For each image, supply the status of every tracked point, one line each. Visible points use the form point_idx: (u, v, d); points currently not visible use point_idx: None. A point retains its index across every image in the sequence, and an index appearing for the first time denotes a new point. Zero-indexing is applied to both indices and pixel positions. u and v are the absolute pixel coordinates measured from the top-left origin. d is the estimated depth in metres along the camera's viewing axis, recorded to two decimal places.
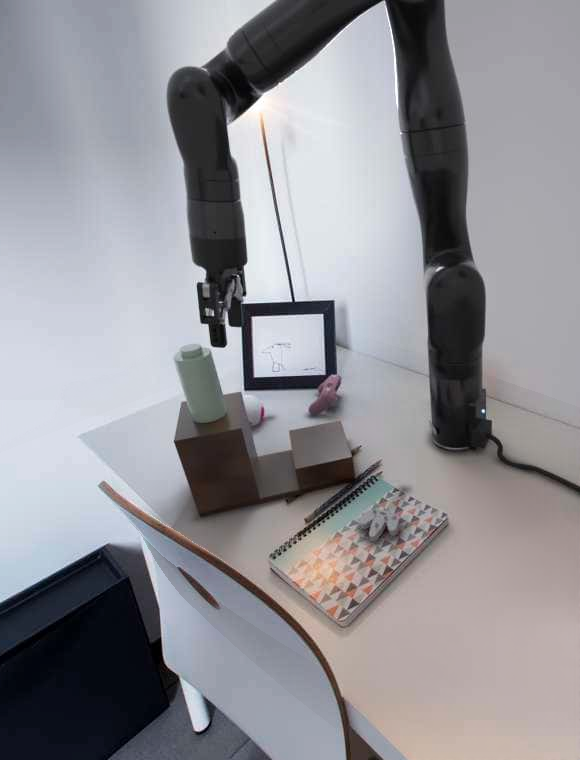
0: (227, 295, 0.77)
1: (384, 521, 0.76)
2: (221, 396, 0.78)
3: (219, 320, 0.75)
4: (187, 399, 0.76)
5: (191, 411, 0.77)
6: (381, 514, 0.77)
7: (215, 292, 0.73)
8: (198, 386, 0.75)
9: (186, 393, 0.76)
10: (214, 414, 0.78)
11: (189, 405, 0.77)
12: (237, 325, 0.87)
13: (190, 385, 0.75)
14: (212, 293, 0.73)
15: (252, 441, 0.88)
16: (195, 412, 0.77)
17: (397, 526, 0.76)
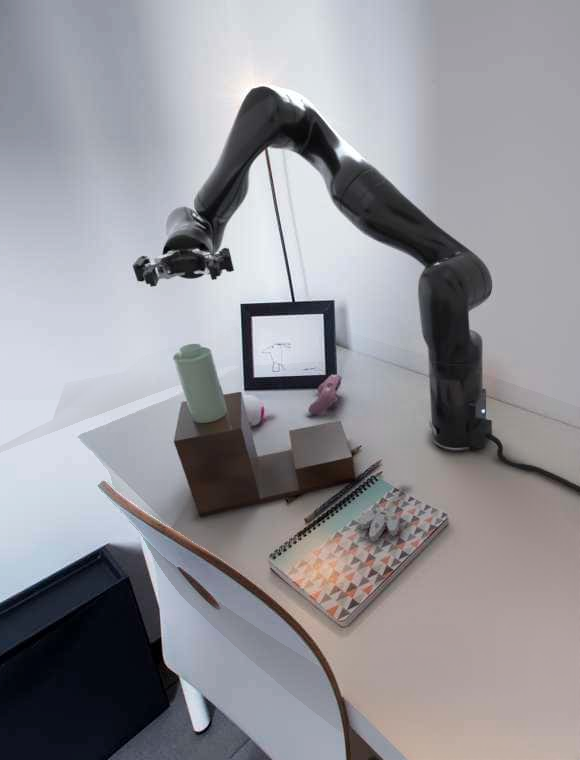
0: None
1: (384, 521, 0.76)
2: (221, 396, 0.78)
3: (136, 264, 0.81)
4: (187, 399, 0.76)
5: (191, 411, 0.77)
6: (381, 514, 0.77)
7: (139, 258, 0.85)
8: (198, 386, 0.75)
9: (186, 393, 0.76)
10: (214, 414, 0.78)
11: (189, 405, 0.77)
12: (209, 271, 0.81)
13: (190, 385, 0.75)
14: None
15: (252, 441, 0.88)
16: (195, 412, 0.77)
17: (397, 526, 0.76)
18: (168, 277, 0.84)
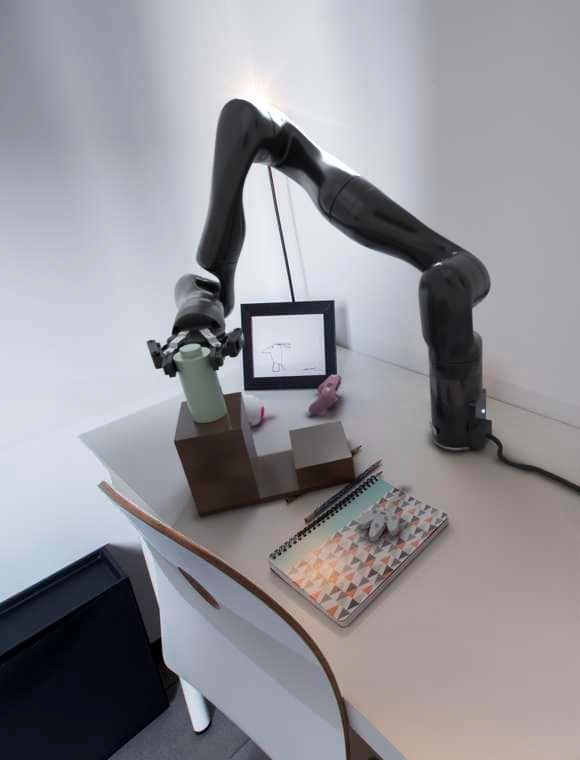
0: None
1: (384, 521, 0.76)
2: (221, 396, 0.78)
3: (153, 351, 0.75)
4: (187, 399, 0.76)
5: (191, 411, 0.77)
6: (381, 514, 0.77)
7: (148, 343, 0.78)
8: (198, 386, 0.75)
9: (186, 393, 0.76)
10: (214, 414, 0.78)
11: (189, 405, 0.77)
12: (211, 362, 0.74)
13: (190, 385, 0.75)
14: None
15: (252, 441, 0.88)
16: (195, 412, 0.77)
17: (397, 526, 0.76)
18: None
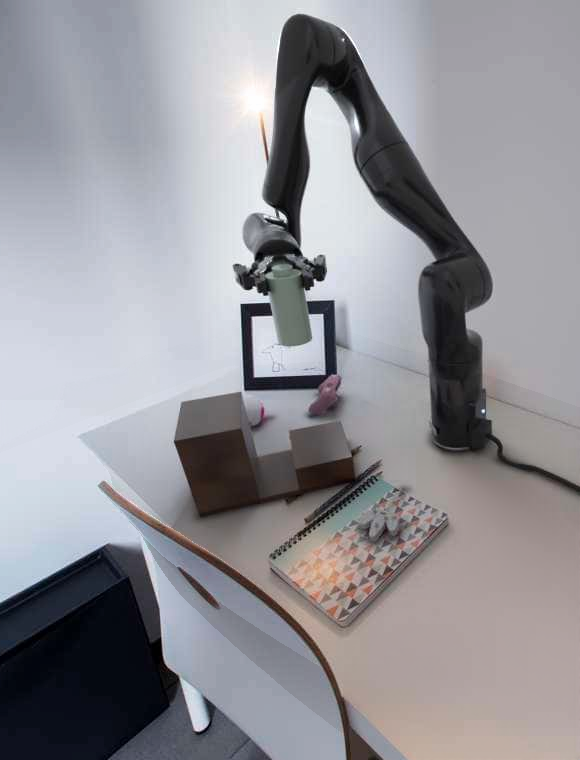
0: None
1: (384, 521, 0.76)
2: (308, 320, 0.77)
3: None
4: (276, 321, 0.75)
5: (279, 334, 0.76)
6: (381, 514, 0.77)
7: (235, 266, 0.77)
8: (289, 307, 0.74)
9: (276, 314, 0.75)
10: (302, 338, 0.77)
11: (278, 327, 0.76)
12: (303, 281, 0.73)
13: (282, 305, 0.74)
14: (234, 269, 0.77)
15: (252, 441, 0.88)
16: (284, 335, 0.76)
17: (397, 526, 0.76)
18: None
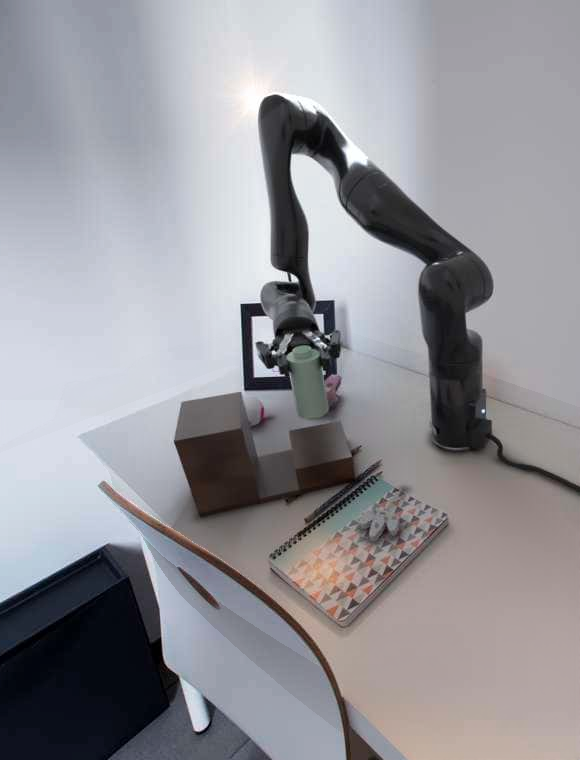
0: (282, 341, 0.84)
1: (384, 521, 0.76)
2: (325, 394, 0.84)
3: (266, 352, 0.81)
4: (296, 397, 0.82)
5: (299, 408, 0.83)
6: (381, 514, 0.77)
7: (257, 344, 0.84)
8: (308, 385, 0.80)
9: (296, 391, 0.81)
10: (319, 411, 0.83)
11: (297, 402, 0.82)
12: (322, 362, 0.80)
13: (302, 384, 0.80)
14: (257, 347, 0.84)
15: (252, 441, 0.88)
16: (303, 409, 0.83)
17: (397, 526, 0.76)
18: None
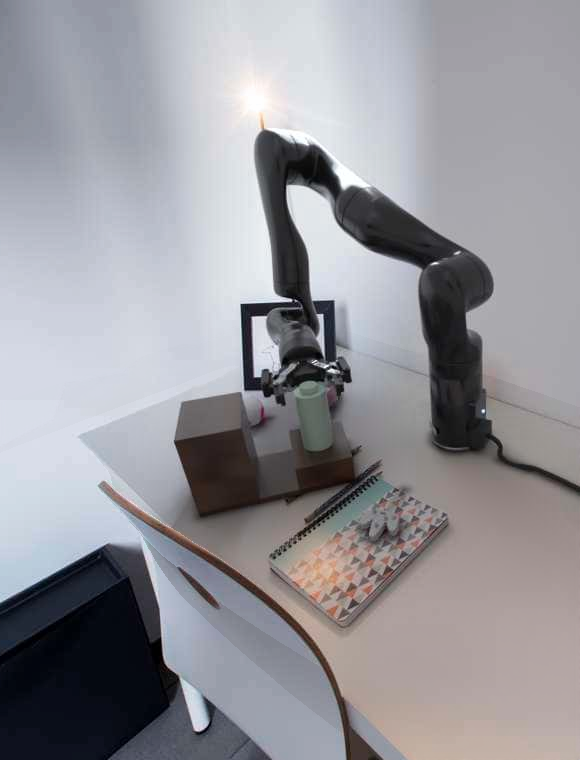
0: (286, 370, 0.87)
1: (384, 521, 0.76)
2: (331, 427, 0.87)
3: (263, 382, 0.84)
4: (303, 430, 0.85)
5: (305, 441, 0.86)
6: (381, 514, 0.77)
7: (262, 372, 0.87)
8: (314, 419, 0.83)
9: (303, 425, 0.84)
10: (325, 443, 0.86)
11: (304, 435, 0.85)
12: (335, 388, 0.83)
13: (308, 418, 0.83)
14: None
15: (252, 441, 0.88)
16: (309, 442, 0.86)
17: (397, 526, 0.76)
18: (291, 390, 0.87)
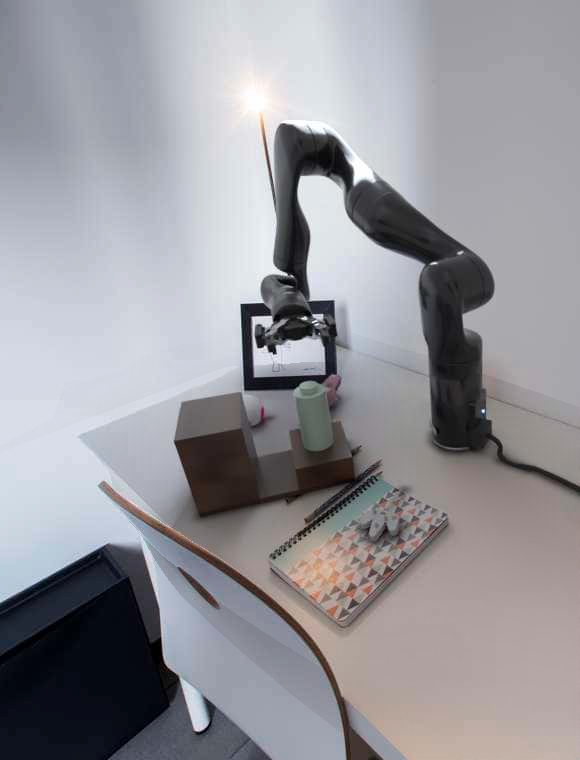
0: None
1: (384, 521, 0.76)
2: (331, 427, 0.87)
3: (257, 333, 0.92)
4: (303, 430, 0.85)
5: (305, 441, 0.86)
6: (381, 514, 0.77)
7: (256, 326, 0.96)
8: (314, 419, 0.83)
9: (303, 425, 0.84)
10: (325, 443, 0.86)
11: (304, 435, 0.85)
12: (322, 339, 0.92)
13: (308, 418, 0.83)
14: None
15: (252, 441, 0.88)
16: (309, 442, 0.86)
17: (397, 526, 0.76)
18: (281, 343, 0.95)
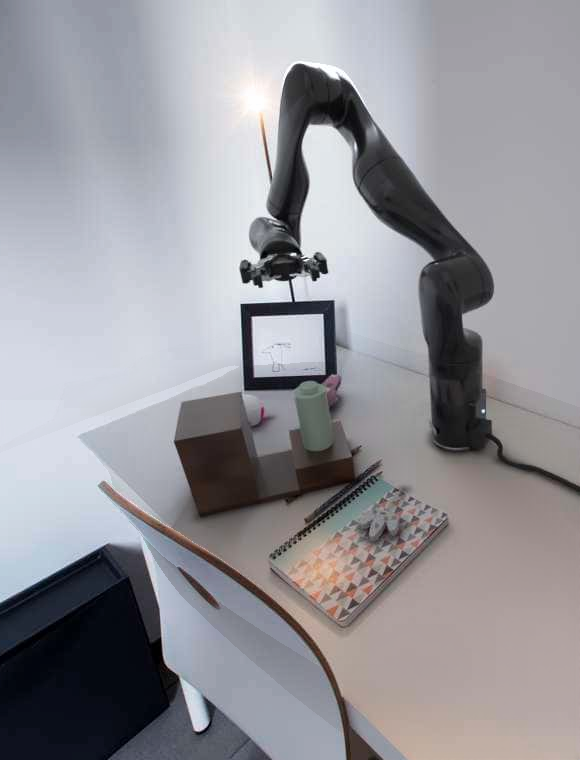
0: None
1: (384, 521, 0.76)
2: (331, 427, 0.87)
3: (242, 267, 0.87)
4: (303, 430, 0.85)
5: (305, 441, 0.86)
6: (381, 514, 0.77)
7: (242, 262, 0.91)
8: (314, 419, 0.83)
9: (303, 425, 0.84)
10: (325, 443, 0.86)
11: (304, 435, 0.85)
12: (311, 273, 0.86)
13: (308, 418, 0.83)
14: None
15: (252, 441, 0.88)
16: (309, 442, 0.86)
17: (397, 526, 0.76)
18: (269, 279, 0.90)
